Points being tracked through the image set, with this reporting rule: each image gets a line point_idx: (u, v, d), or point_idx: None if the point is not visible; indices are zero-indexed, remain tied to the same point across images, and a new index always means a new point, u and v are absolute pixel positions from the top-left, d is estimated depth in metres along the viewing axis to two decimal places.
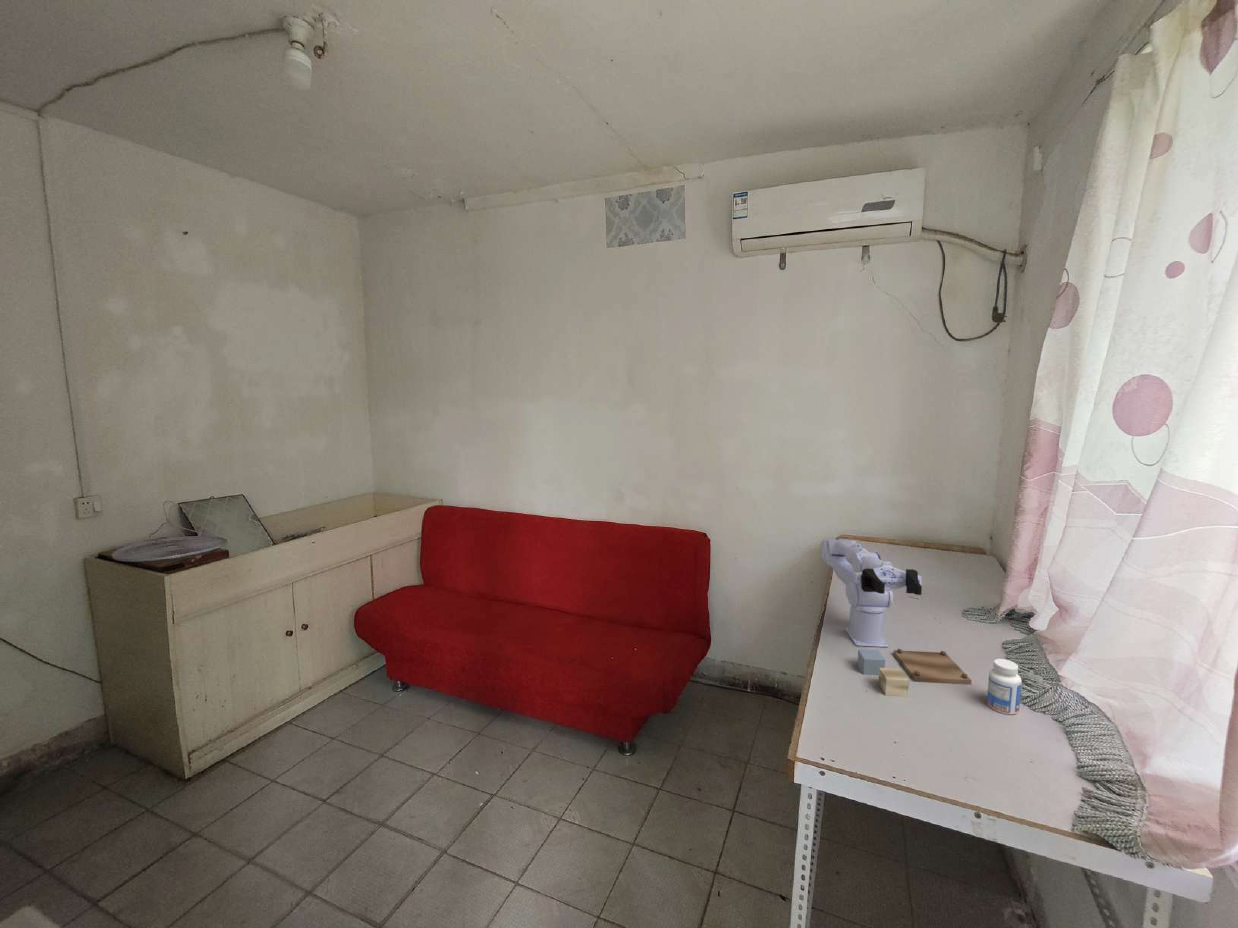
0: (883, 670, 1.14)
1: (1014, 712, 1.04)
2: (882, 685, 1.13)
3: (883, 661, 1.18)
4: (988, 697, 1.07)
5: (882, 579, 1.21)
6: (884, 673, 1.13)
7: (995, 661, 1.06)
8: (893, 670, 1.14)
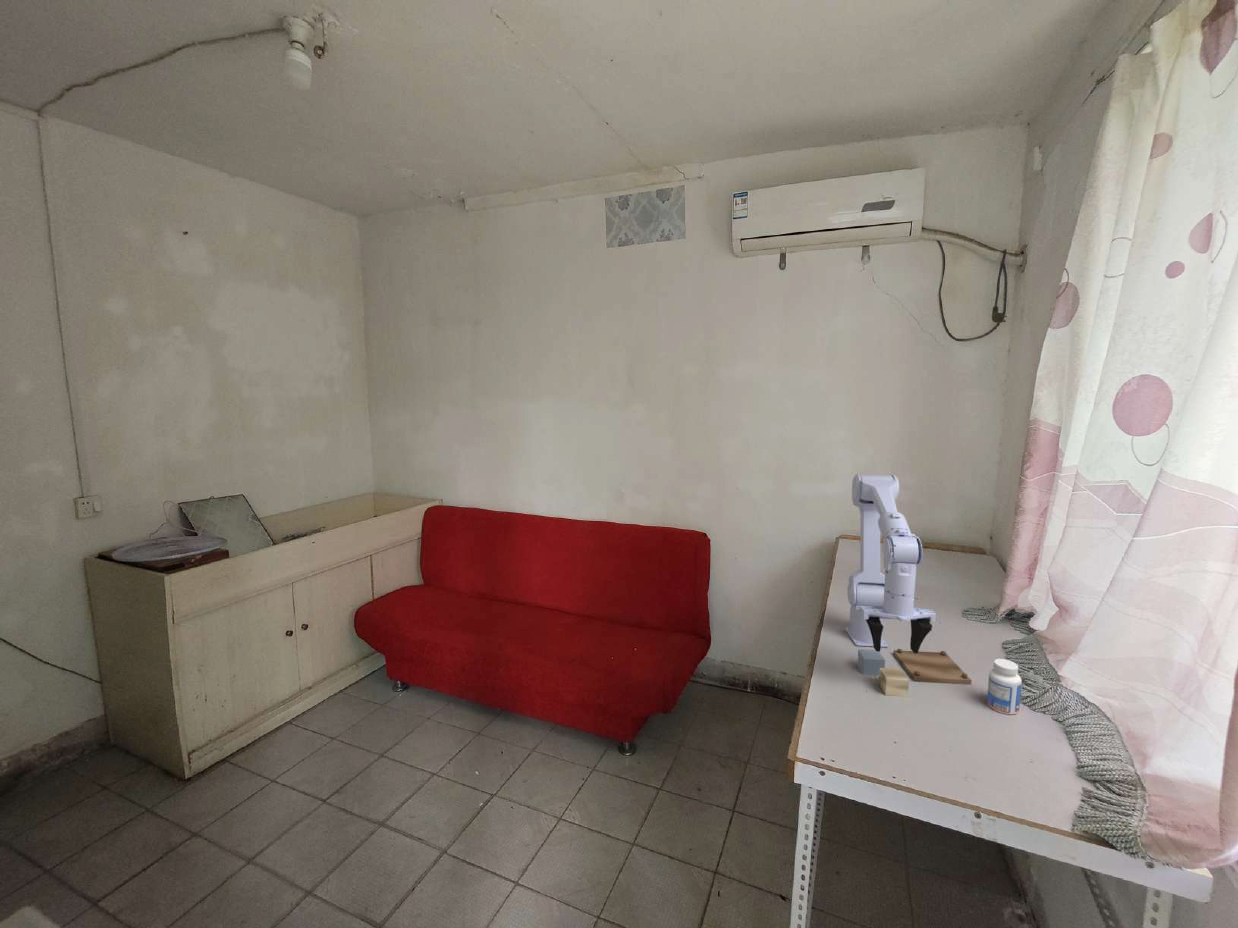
0: (883, 670, 1.14)
1: (1014, 712, 1.04)
2: (882, 685, 1.13)
3: (883, 661, 1.18)
4: (988, 697, 1.07)
5: None
6: (884, 673, 1.13)
7: (995, 661, 1.06)
8: (893, 670, 1.14)
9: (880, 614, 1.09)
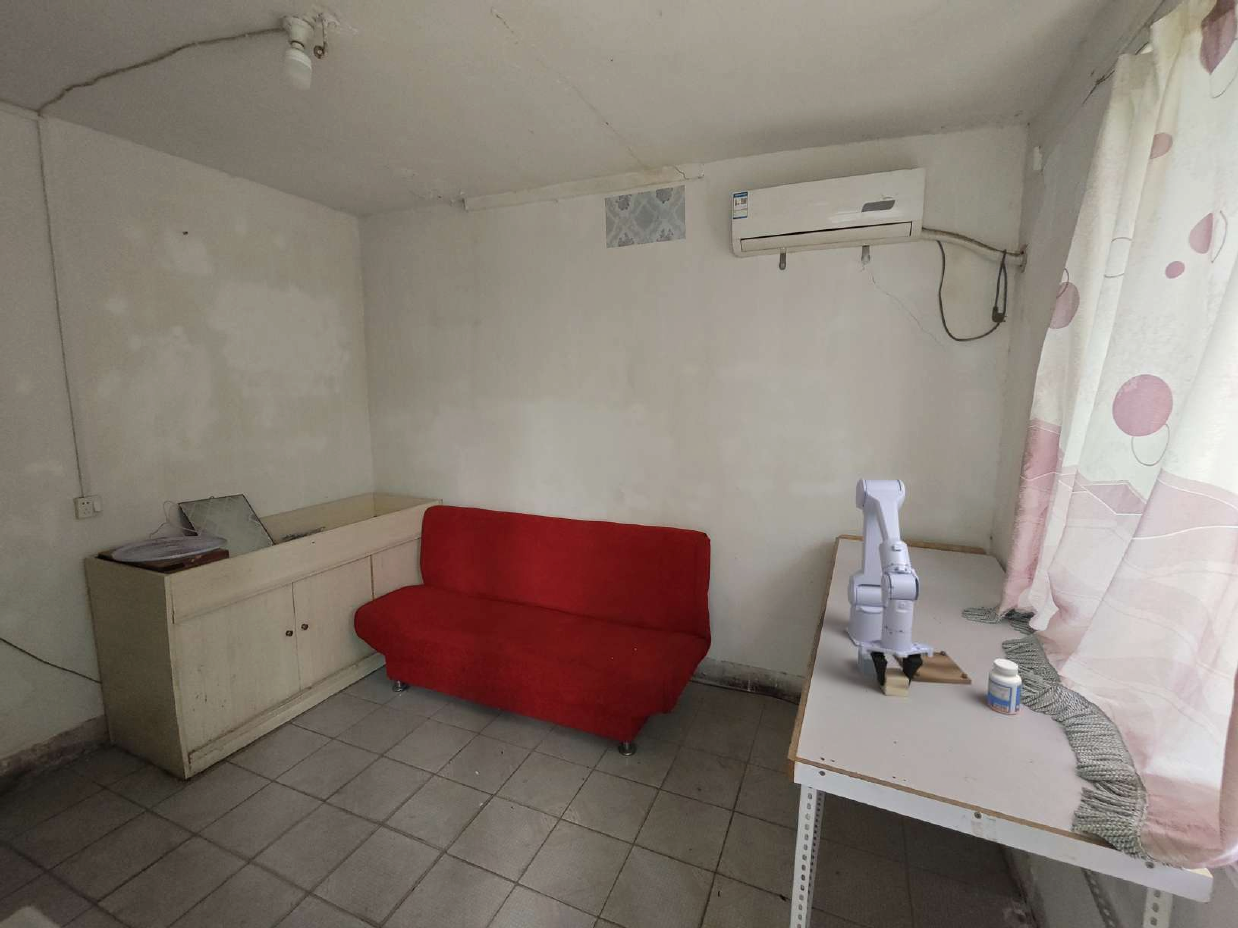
0: None
1: (1014, 712, 1.04)
2: None
3: None
4: (988, 697, 1.07)
5: None
6: None
7: (995, 661, 1.06)
8: (893, 669, 1.14)
9: (878, 649, 1.11)
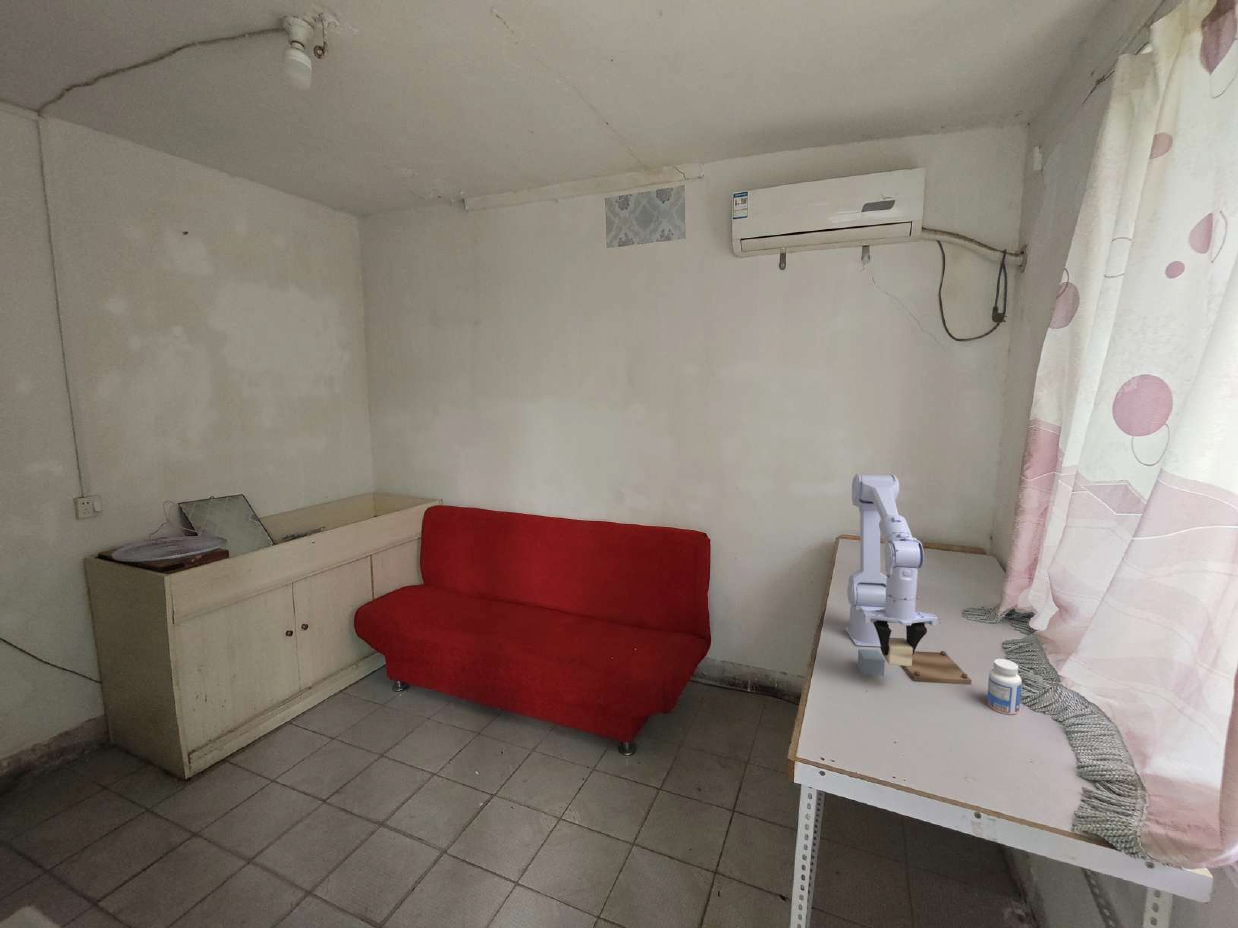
0: None
1: (1014, 712, 1.04)
2: None
3: (883, 661, 1.18)
4: (988, 697, 1.07)
5: None
6: None
7: (995, 661, 1.06)
8: (897, 639, 1.13)
9: (882, 618, 1.10)
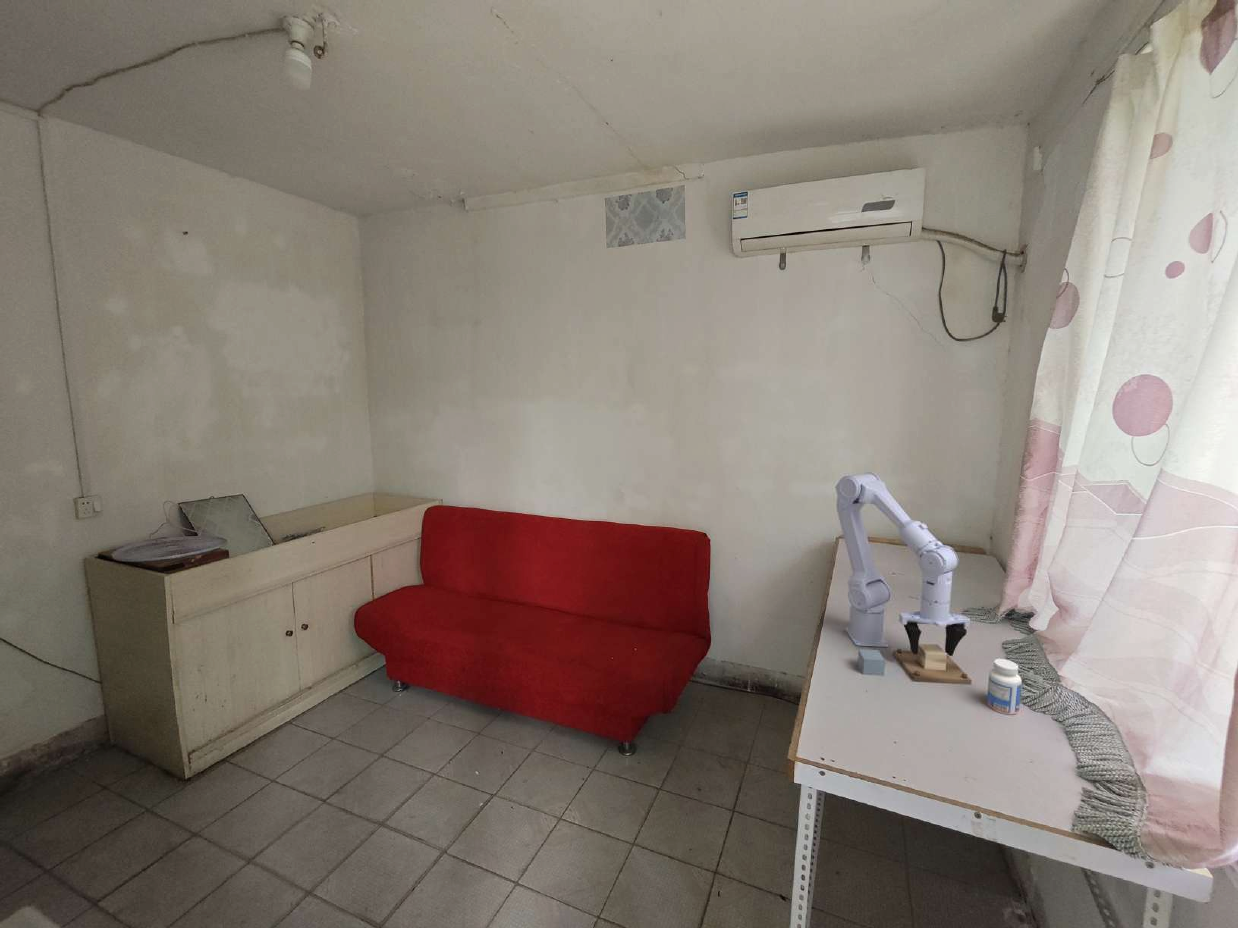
0: (922, 645, 1.22)
1: (1014, 712, 1.04)
2: (921, 659, 1.21)
3: (883, 661, 1.18)
4: (988, 697, 1.07)
5: None
6: (923, 648, 1.21)
7: (995, 661, 1.06)
8: (931, 645, 1.22)
9: (918, 620, 1.18)
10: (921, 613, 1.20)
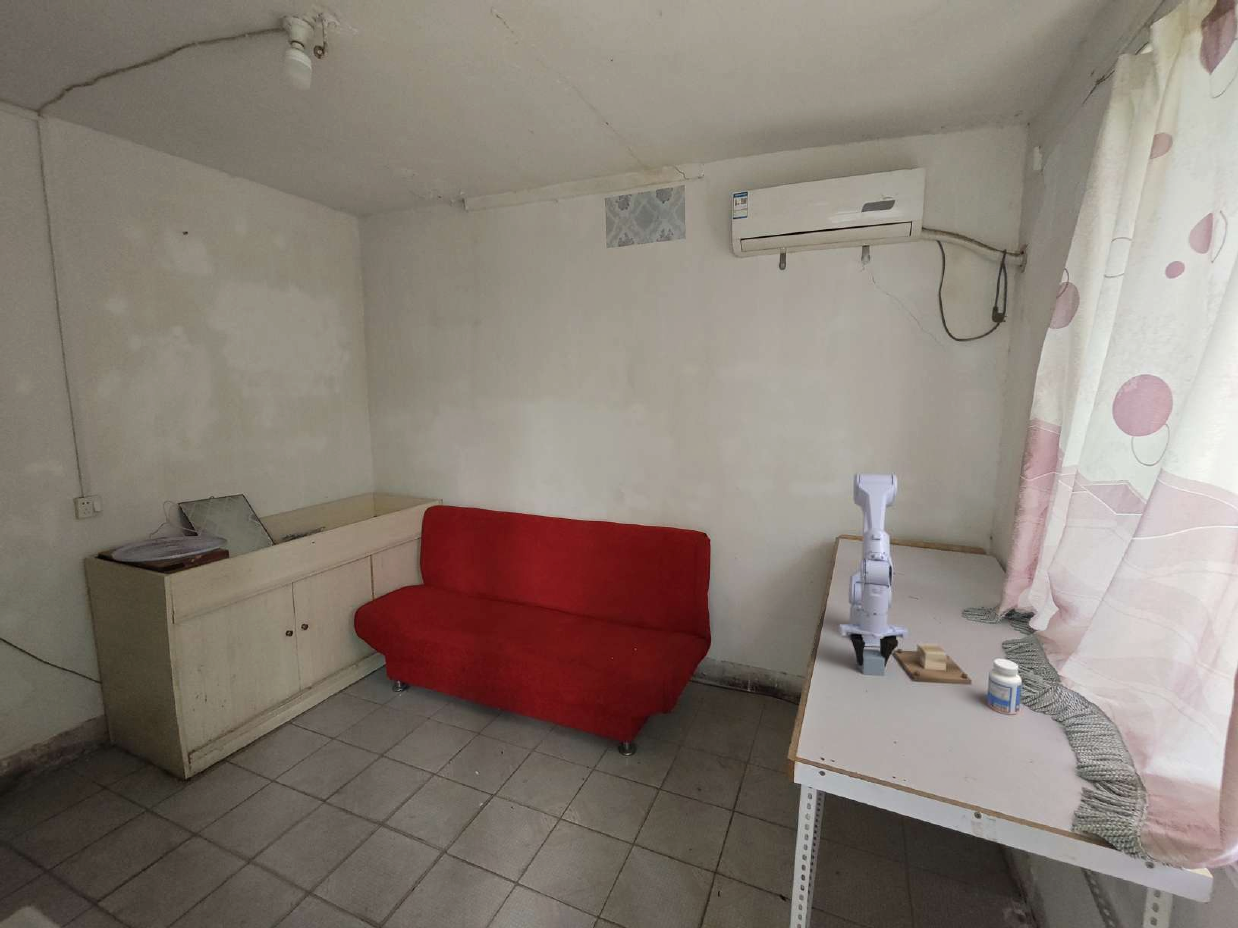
0: (922, 645, 1.22)
1: (1014, 712, 1.04)
2: (921, 659, 1.21)
3: (883, 661, 1.18)
4: (988, 697, 1.07)
5: None
6: (923, 648, 1.21)
7: (995, 661, 1.06)
8: (931, 645, 1.22)
9: (856, 631, 1.19)
10: (860, 624, 1.20)
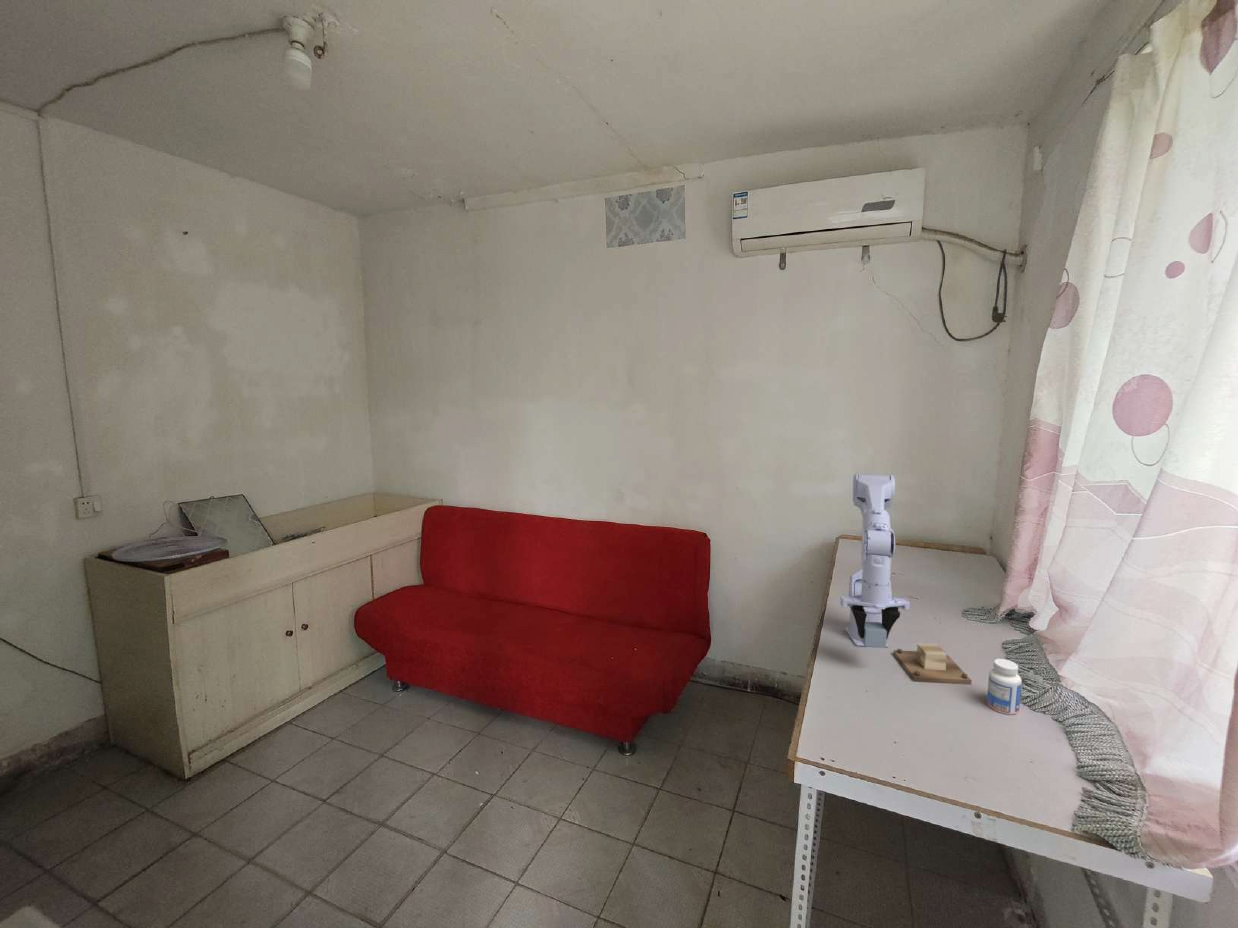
0: (922, 645, 1.22)
1: (1014, 712, 1.04)
2: (921, 659, 1.21)
3: (885, 632, 1.17)
4: (988, 697, 1.07)
5: None
6: (923, 648, 1.21)
7: (995, 661, 1.06)
8: (931, 645, 1.22)
9: (858, 603, 1.18)
10: (862, 596, 1.19)
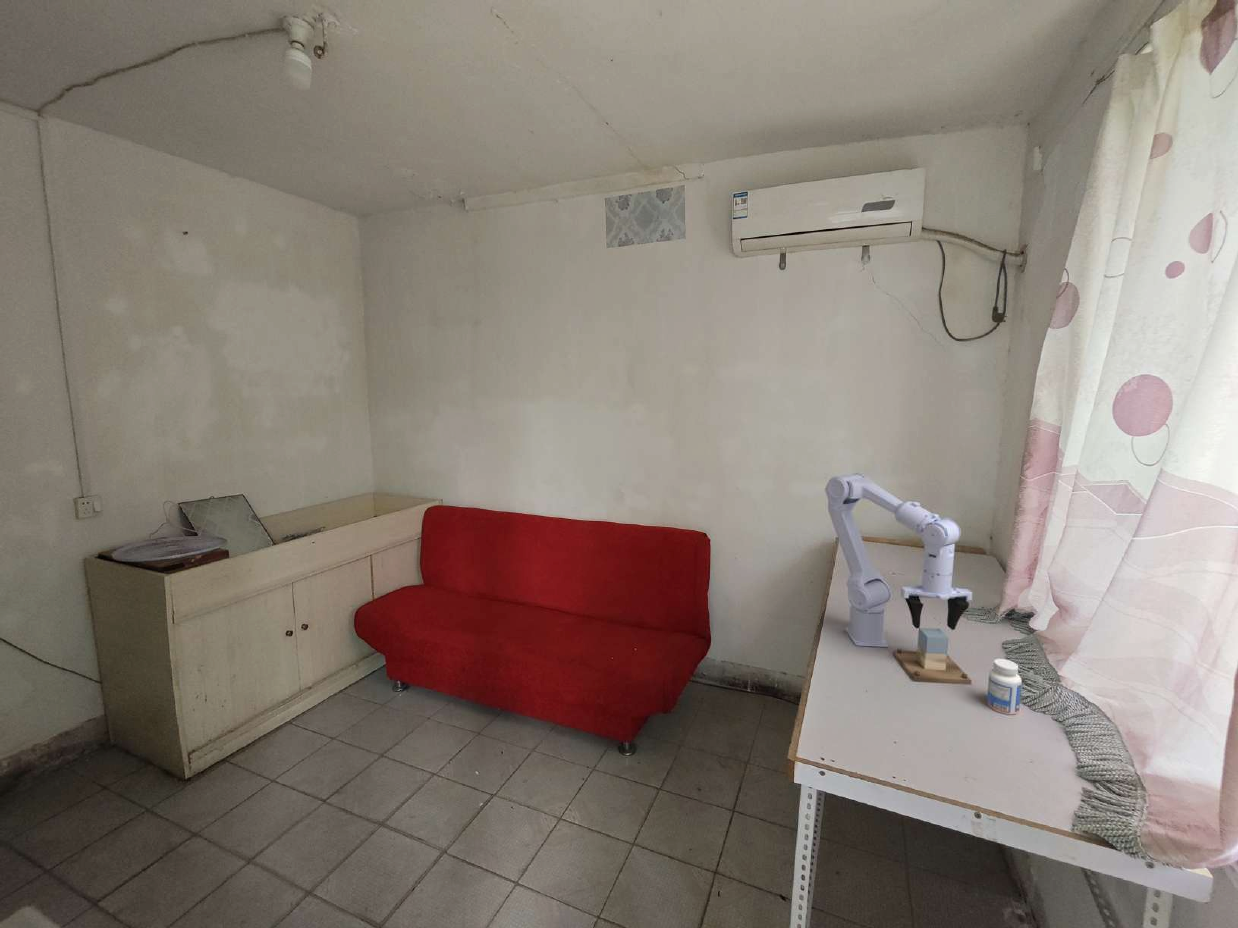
0: None
1: (1014, 712, 1.04)
2: (921, 659, 1.21)
3: (946, 639, 1.18)
4: (988, 697, 1.07)
5: None
6: None
7: (995, 661, 1.06)
8: None
9: (920, 593, 1.17)
10: (923, 587, 1.19)
